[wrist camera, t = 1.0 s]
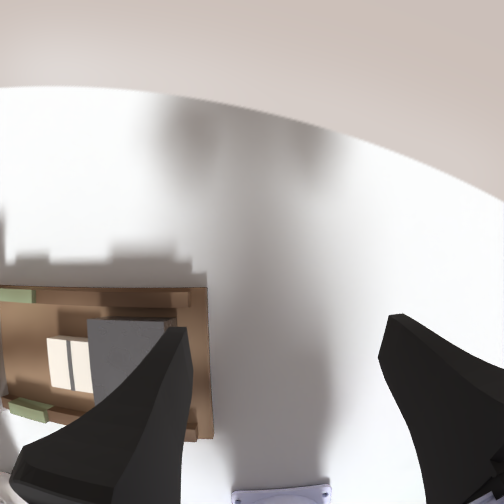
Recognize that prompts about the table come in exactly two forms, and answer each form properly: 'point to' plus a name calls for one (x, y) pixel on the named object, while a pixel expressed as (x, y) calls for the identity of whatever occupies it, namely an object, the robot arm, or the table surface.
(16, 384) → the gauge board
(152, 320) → the grey rectangular block
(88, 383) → the cream square block
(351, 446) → the table surface
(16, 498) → the plastic bottle
